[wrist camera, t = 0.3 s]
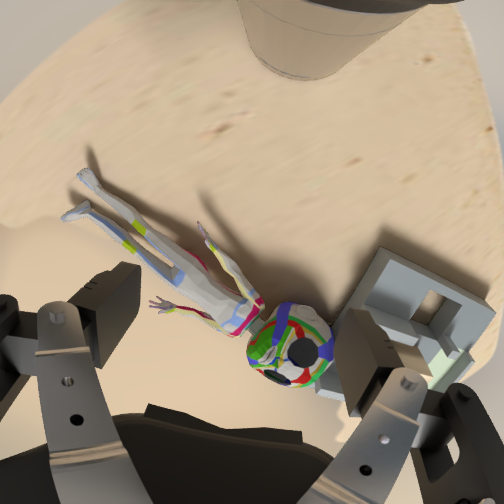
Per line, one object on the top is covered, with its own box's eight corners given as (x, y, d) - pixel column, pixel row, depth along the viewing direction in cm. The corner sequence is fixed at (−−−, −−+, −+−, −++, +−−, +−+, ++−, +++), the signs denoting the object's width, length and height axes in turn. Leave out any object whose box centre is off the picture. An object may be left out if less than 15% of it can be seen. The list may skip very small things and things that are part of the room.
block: (384, 335, 29) (399, 368, 25) (417, 346, 30) (433, 377, 25) (359, 369, 31) (368, 402, 27) (392, 377, 32) (404, 408, 27)
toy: (76, 150, 22) (365, 363, 23) (127, 147, 30) (354, 314, 31) (44, 241, 26) (288, 423, 27) (92, 222, 34) (295, 372, 35)
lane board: (380, 246, 29) (401, 274, 23) (484, 300, 30) (508, 327, 25) (303, 368, 35) (306, 405, 30) (410, 394, 37) (422, 425, 31)
